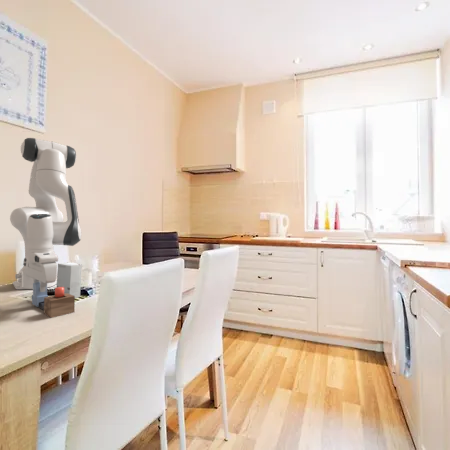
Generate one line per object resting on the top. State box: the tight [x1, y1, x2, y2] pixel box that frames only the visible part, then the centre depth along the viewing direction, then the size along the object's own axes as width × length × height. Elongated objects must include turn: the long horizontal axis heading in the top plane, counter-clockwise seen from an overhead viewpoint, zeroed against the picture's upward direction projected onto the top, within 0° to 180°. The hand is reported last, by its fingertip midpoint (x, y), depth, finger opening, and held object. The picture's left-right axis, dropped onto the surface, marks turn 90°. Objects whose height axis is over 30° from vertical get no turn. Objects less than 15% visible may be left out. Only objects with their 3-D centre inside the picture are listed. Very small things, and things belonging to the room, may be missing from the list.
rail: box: [35, 302, 44, 311], centre depth 113 cm, size 13×2×2 cm, turn 52°
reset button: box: [54, 286, 64, 297], centre depth 108 cm, size 3×3×3 cm
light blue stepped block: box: [31, 282, 49, 308], centre depth 115 cm, size 5×4×8 cm
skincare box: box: [56, 261, 83, 299], centre depth 128 cm, size 8×6×15 cm
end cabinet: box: [43, 293, 76, 319], centre depth 108 cm, size 6×8×6 cm
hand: (40, 290), depth 115 cm, fingers closed on light blue stepped block, 2 cm apart
